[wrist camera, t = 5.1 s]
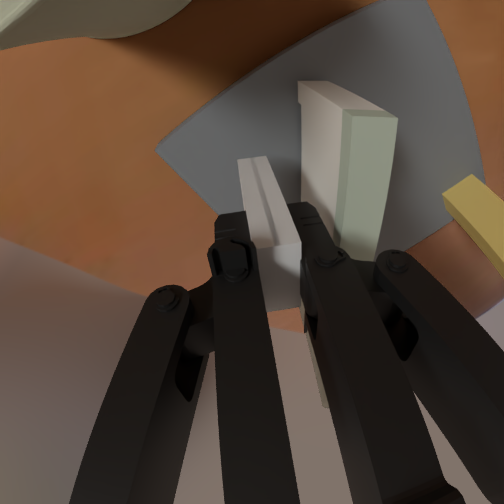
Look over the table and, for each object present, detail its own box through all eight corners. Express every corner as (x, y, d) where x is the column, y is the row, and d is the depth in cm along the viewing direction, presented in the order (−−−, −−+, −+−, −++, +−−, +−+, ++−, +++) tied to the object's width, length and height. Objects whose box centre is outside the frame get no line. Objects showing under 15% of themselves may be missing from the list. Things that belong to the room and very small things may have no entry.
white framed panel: (320, 244, 19) (353, 331, 14) (297, 246, 19) (324, 336, 14) (327, 80, 13) (398, 118, 8) (297, 80, 13) (352, 115, 8)
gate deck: (407, -12, 10) (572, 0, 2) (478, 188, 19) (565, 283, 11) (158, 143, 16) (92, 291, 7) (305, 295, 25) (339, 424, 16)
